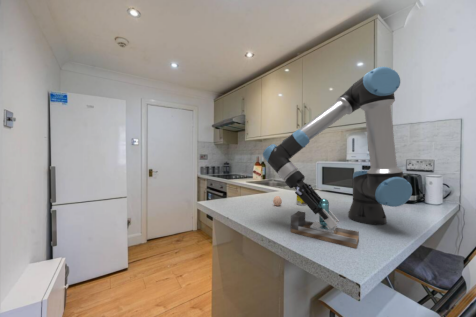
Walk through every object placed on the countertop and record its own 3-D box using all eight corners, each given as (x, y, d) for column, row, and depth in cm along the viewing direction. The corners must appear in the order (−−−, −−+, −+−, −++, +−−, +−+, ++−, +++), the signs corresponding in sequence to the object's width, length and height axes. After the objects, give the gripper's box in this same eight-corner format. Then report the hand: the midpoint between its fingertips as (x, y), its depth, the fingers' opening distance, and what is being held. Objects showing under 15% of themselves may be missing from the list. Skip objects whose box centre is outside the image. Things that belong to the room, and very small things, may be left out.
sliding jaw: (310, 231, 72) (310, 198, 72) (315, 226, 78) (315, 195, 78) (333, 237, 67) (334, 202, 67) (337, 230, 73) (337, 198, 73)
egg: (276, 204, 120) (276, 194, 120) (283, 205, 117) (283, 196, 117) (271, 205, 117) (271, 195, 117) (278, 207, 113) (278, 197, 113)
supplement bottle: (302, 206, 116) (302, 189, 116) (294, 204, 121) (294, 187, 121) (307, 204, 119) (308, 188, 119) (300, 203, 124) (300, 187, 124)
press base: (290, 232, 76) (290, 215, 76) (298, 226, 82) (298, 211, 82) (356, 248, 63) (356, 228, 63) (358, 239, 69) (359, 221, 69)
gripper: (292, 179, 88) (331, 224, 78) (276, 183, 75) (322, 237, 65) (304, 168, 85) (346, 213, 75) (290, 170, 72) (339, 225, 62)
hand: (335, 224), depth 70 cm, fingers closed on sliding jaw, 3 cm apart
